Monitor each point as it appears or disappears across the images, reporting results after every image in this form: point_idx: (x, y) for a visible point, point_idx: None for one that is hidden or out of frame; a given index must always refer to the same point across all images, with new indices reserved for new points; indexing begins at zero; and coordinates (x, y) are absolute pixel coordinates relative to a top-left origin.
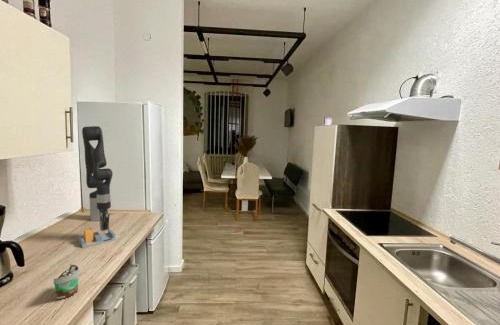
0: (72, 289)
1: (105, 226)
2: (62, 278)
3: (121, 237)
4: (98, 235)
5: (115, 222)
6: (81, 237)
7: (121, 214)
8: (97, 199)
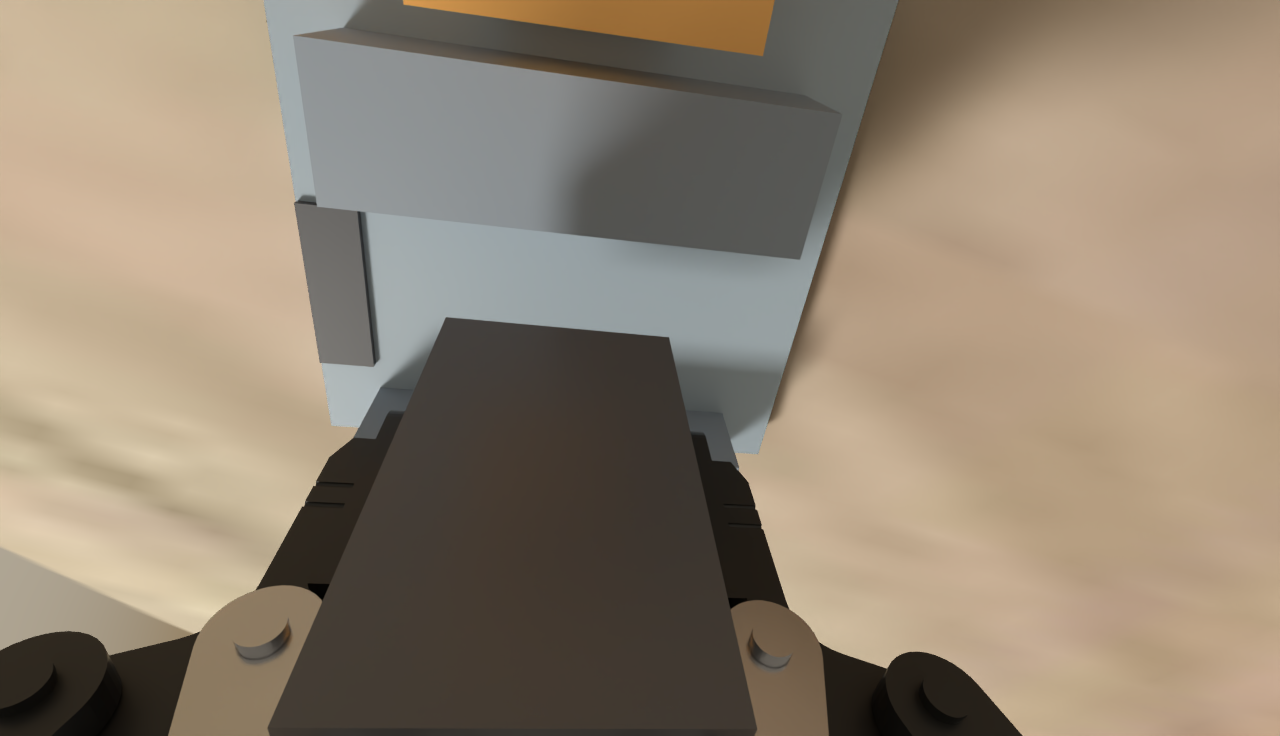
0: None
1: (321, 506)
2: None
3: None
4: (500, 178)
5: (1112, 621)
6: None
7: (1273, 730)
8: None
